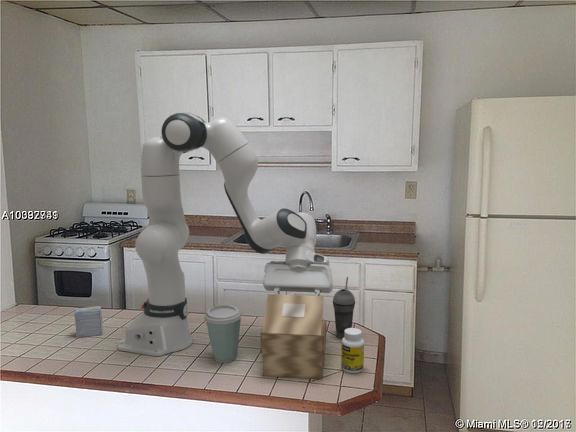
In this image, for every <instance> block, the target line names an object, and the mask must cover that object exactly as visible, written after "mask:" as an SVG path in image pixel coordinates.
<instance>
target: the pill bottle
mask: <svg viewBox="0 0 576 432" xmlns="http://www.w3.org/2000/svg"><path fill="white" fill-rule="evenodd" d="M344 335H345V337H344V338H343V339H341V351H340V352H341V355H340V356H341V357H340V361H341V362H340V366H341V368H340V369H342V370H343V372H346V373H349V374H359V373H361V372H362V371H363V370H364V367H365V366H364V365H365V363H364V360H365V357H364V356H365V340H364V338H362V335H363V334H362V330H361V329H360V328H355V327H352V328H348V329H345V331H344Z"/></svg>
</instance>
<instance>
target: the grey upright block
mask: <svg viewBox="0 0 576 432" xmlns="http://www.w3.org/2000/svg"><path fill="white" fill-rule="evenodd" d="M74 322H75V323H74V324H75V332H76V334H75V335H76V339H79V338H87V337H93V336H95V337H96V336H100V335H103V332H104V328H103V327H104V326H103V314H102V306H101V305H98V306H97V305H95V306H90V307H89V306H88V307H79V308H75V311H74Z"/></svg>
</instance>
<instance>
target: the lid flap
mask: <svg viewBox="0 0 576 432" xmlns="http://www.w3.org/2000/svg"><path fill="white" fill-rule="evenodd" d="M323 308H324V296H323V295H320V296H315V295H304V294H303V295H301V294H299V295H298V294H297V295H295V294H279V295H277V294H275V293H274V294H272V293H268V294H267V298H266V304H265V311H264V317H263V323H262V324H263V325H262V328H263V330H262V329H261V330H262V334H281V335H302V336H321V330H322V319H323V315H324V314H323V311H324V310H323Z"/></svg>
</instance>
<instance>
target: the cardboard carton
mask: <svg viewBox="0 0 576 432" xmlns="http://www.w3.org/2000/svg"><path fill="white" fill-rule="evenodd" d="M262 330H263V327H262V328H261V331H260V335H259V336H260V337H259V338H260V354H261V356H262V358H261V359H262V361H261V364H262V376H263V377H275V378H276V377H279V378H291V379H292V378H295V379H309V380H310V379H312V380H323V374H324V366H325V359H326V358H325V357H326V356H325V355H326V347H327V346H326V345H327V320H325V319H323V318H322V330H321V336H302V335H281V334H262Z"/></svg>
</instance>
